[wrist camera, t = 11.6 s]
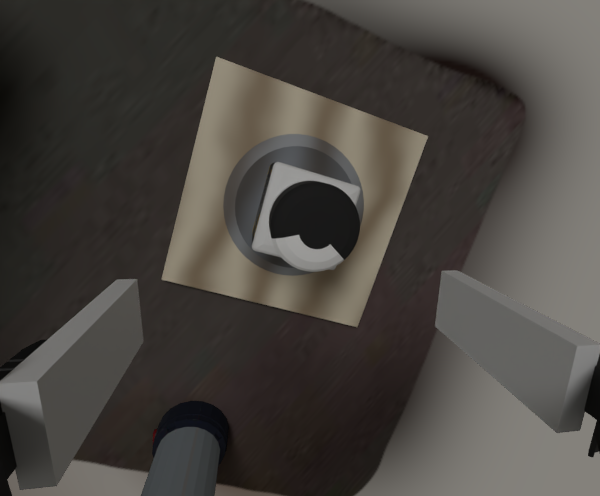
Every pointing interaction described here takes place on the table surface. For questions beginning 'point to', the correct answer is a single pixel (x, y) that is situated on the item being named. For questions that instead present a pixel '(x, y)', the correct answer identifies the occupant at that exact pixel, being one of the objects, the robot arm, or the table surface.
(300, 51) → the table surface
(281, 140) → the square wooden board
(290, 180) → the medicine bottle
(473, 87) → the table surface
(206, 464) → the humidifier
